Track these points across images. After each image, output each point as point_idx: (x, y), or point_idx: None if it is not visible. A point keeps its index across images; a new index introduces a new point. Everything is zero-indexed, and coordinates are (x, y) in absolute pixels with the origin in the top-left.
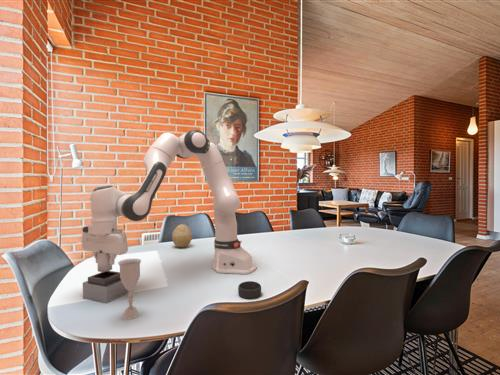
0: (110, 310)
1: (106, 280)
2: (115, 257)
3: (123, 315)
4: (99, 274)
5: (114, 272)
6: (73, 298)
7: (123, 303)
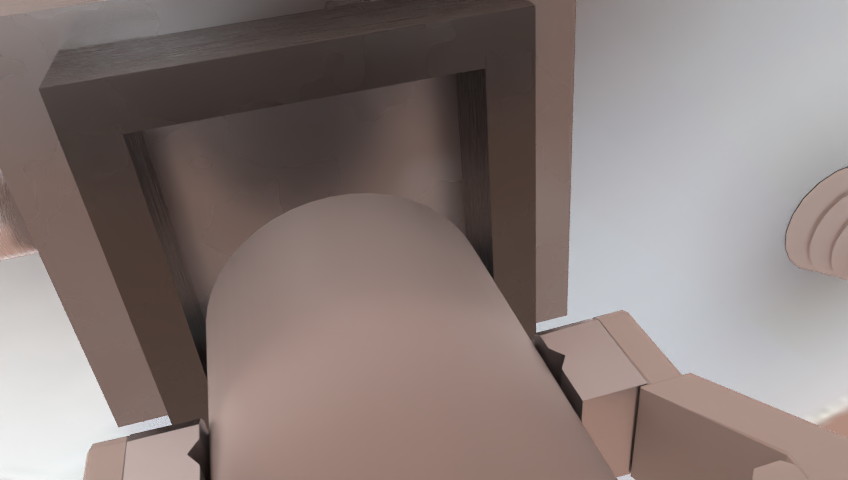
0: (635, 262)
1: (528, 319)
2: (762, 413)
3: (806, 265)
4: (174, 277)
5: (362, 82)
6: (36, 346)
7: (648, 126)
